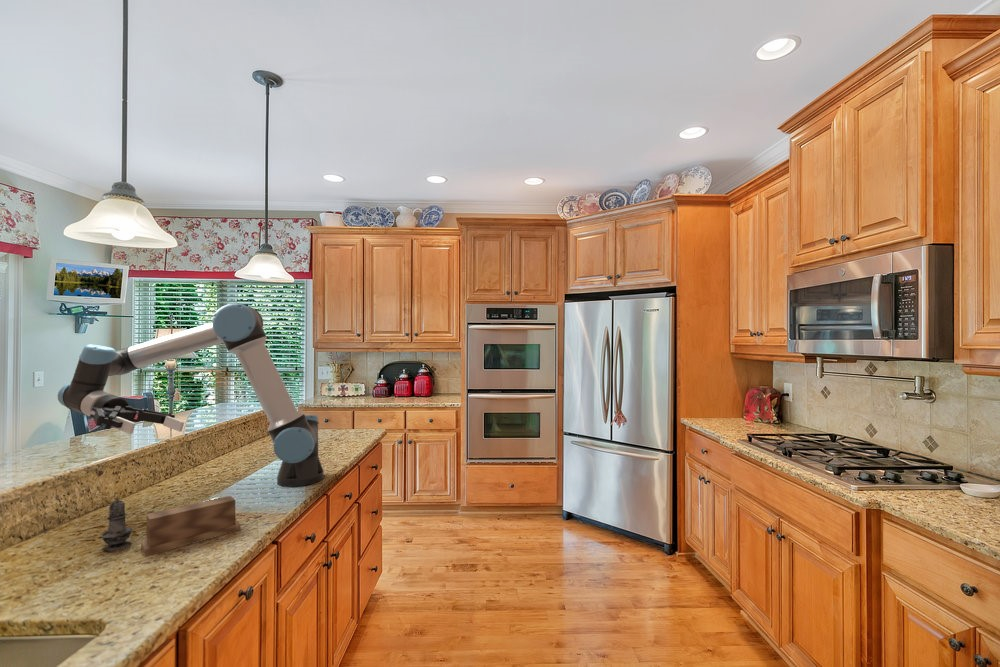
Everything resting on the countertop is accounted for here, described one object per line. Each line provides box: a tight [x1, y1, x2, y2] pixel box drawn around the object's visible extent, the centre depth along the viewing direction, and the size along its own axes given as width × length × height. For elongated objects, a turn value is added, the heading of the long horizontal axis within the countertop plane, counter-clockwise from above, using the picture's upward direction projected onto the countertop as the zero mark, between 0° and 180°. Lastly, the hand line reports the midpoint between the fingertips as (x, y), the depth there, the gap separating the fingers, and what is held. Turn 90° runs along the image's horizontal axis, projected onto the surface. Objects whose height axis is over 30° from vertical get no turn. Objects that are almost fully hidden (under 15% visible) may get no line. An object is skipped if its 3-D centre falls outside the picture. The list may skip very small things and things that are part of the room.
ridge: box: [140, 495, 241, 557], centre depth 115 cm, size 20×6×8 cm, turn 135°
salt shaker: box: [100, 496, 134, 553], centre depth 111 cm, size 6×6×12 cm
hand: (158, 427), depth 124 cm, fingers open, 13 cm apart
